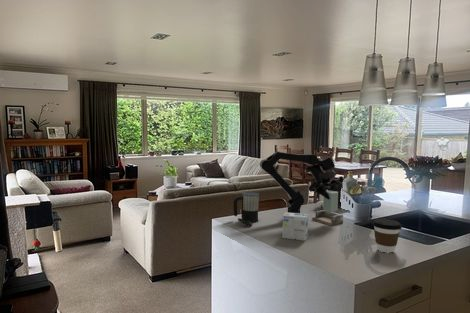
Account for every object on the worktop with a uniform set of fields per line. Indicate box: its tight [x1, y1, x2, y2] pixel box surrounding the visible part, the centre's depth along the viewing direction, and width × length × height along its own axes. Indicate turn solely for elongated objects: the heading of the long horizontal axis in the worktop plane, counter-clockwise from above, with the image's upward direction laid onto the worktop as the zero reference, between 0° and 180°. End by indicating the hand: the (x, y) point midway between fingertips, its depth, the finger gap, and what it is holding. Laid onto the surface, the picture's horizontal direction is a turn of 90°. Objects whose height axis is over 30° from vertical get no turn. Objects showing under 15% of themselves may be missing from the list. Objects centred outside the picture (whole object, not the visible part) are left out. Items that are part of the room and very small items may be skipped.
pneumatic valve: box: [316, 190, 328, 210], centre depth 207 cm, size 6×12×12 cm, turn 51°
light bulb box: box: [281, 211, 309, 242], centre depth 151 cm, size 11×7×11 cm, turn 71°
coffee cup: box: [371, 218, 403, 253], centre depth 136 cm, size 11×11×12 cm
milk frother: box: [232, 191, 260, 227], centre depth 174 cm, size 14×16×15 cm
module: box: [323, 190, 339, 212], centre depth 174 cm, size 5×5×10 cm
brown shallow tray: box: [311, 209, 344, 226], centre depth 179 cm, size 10×12×4 cm
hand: (332, 198), depth 173 cm, fingers closed on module, 5 cm apart
